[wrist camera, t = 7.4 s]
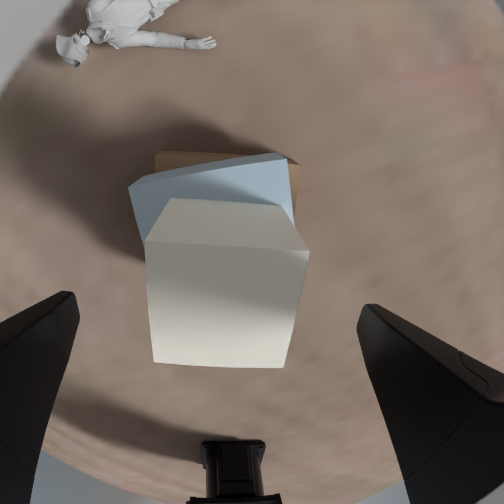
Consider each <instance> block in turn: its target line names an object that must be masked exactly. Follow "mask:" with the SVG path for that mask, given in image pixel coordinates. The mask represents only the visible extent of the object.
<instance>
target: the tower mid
mask: <svg viewBox="0 0 504 504" xmlns="http://www.w3.org/2000/svg"><path fill="white" fill-rule="evenodd" d="M128 190H129V194H130V198H131V202H132V206H133V210H134V214H135V218H136V222H137V225H138V229H139V232H140V236H141V240H142V243H143V246H144V250H145V239H146V237H147V236H148V234H149V232H150V231H151V229H152V227H153V226H154V224H155V222H156V221H157V219H158V217H159V216H160V214H161V213H162V211H163V209H164V208H165V206H166V205H167V203H168V202H169V200H170V198H185V199H202V200H216V201H230V202H243V203H255V204H266V205H277V206H282V207H283V209H284V211H285V212H286V214H287V215H288V217H289V219H290V220H291V222H292V223H293V225H294V220H293V210H292V200H291V190H290V181H289V172H288V163H287V159H286V158H285V157H283V156H282V155H280V154H279V153H277V152H274V153H266V154H259V155H252V156H245V157H239V158H232V159H226V160H220V161H215V162H209V163H203V164H198V165H193V166H188V167H183V168H178V169H173V170H168V171H163V172H159V173H154V174H150V175H145V176H142V177H141V178H140V179H138V180H137V181H136V182H134V183H133V184H132V185H130V186H129V187H128Z"/></svg>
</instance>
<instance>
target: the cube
mask: <svg viewBox="0 0 504 504" xmlns="http://www.w3.org/2000/svg"><path fill="white" fill-rule="evenodd" d="M309 252H310V251H309V249H308V248H307V246H306V244H305V243H304V241H303V240H302V238H301V236H300V235H299V233H298V231H297V230H296V228H295V227H294V225H293V223H292V222H291V220H290V219H289V217H288V215H287V214H286V212H285V211H284V209H283V207H282V206H277V205H266V204H255V203H243V202H230V201H216V200H202V199H185V198H170V200H169V202H168V203H167V205H166V206H165V208H164V209H163V211H162V213H161V214H160V216H159V217H158V219H157V221H156V222H155V224H154V226H153V227H152V229H151V231H150V232H149V234H148V236H147V237H146V239H145V263H146V282H147V297H148V310H149V321H150V331H151V341H152V350H153V358H154V362H159V363H169V364H181V365H195V366H213V367H239V368H283V367H284V363H285V359H286V355H287V351H288V347H289V343H290V339H291V334H292V330H293V326H294V322H295V317H296V313H297V309H298V304H299V300H300V295H301V291H302V286H303V281H304V277H305V272H306V267H307V262H308V257H309Z"/></svg>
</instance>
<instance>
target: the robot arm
mask: <svg viewBox="0 0 504 504" xmlns="http://www.w3.org/2000/svg"><path fill="white" fill-rule="evenodd" d="M79 321H80V314H79V309H78V305H77V301H76V297H75V294H74V293H73V292H70V291H60V292H58V293H56V294H54V295H52V296H51V297H49V298H47V299H45V300H43V301H41V302H39V303H37V304H35V305H33V306H31V307H29V308H27V309H25V310H23V311H21V312H19V313H18V314H16V315H14V316H12V317H10V318H8V319H6V320H4V321H3V322H1V323H0V504H30V499H31V493H32V488H33V483H34V478H35V477H34V475H35V472H36V467H37V463H38V458H39V455H40V451H41V447H42V443H43V439H44V435H45V432H46V428H47V425H48V421H49V418H50V414H51V411H52V408H53V405H54V402H55V398H56V395H57V392H58V389H59V386H60V384H61V381H62V378H63V375H64V372H65V369H66V367H67V364H68V361H69V357H70V354H71V350H72V346H73V342H74V339H75V335H76V332H77V328H78V325H79ZM357 334H358V338H359V342H360V346H361V350H362V353H363V357H364V361H365V365H366V369H367V372H368V375H369V378H370V380H371V383H372V386H373V388H374V391H375V394H376V397H377V400H378V402H379V405H380V408H381V411H382V414H383V417H384V420H385V423H386V426H387V428H388V431H389V434H390V438H391V441H392V444H393V447H394V450H395V453H396V456H397V459H398V463H399V466H400V469H401V472H402V476H403V479H404V483H405V486H406V490H407V494H408V497H409V501H410V504H504V374H503V373H501V372H499V371H497V370H495V369H493V368H491V367H489V366H487V365H485V364H483V363H481V362H479V361H478V360H476V359H474V358H472V357H470V356H468V355H467V354H465V353H463V352H461V351H458V349H456V348H454V347H453V346H451V345H449V344H447V343H446V342H444V341H442V340H440V339H439V338H437V337H435V336H433V335H431V334H430V333H428V332H426V331H424V330H423V329H421V328H419V327H417V326H415V325H414V324H412V323H410V322H408V321H407V320H405V319H403V318H401V317H399V316H398V315H396V314H394V313H392V312H390V311H389V310H387V309H385V308H383V307H381V306H380V305H378V304H365V305H364V306H363V308H362V311H361V314H360V317H359V320H358V323H357ZM201 448H202V461H203V468H204V469H206V498H196V497H190V501H187V502H186V504H282V501H281V497H280V493H278V494H274V495H266V496H264V491H263V483H262V476H261V468H260V465H261V462H262V458H263V455H264V451H265V448H266V445H265V442H203V443H202V444H201Z"/></svg>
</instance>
